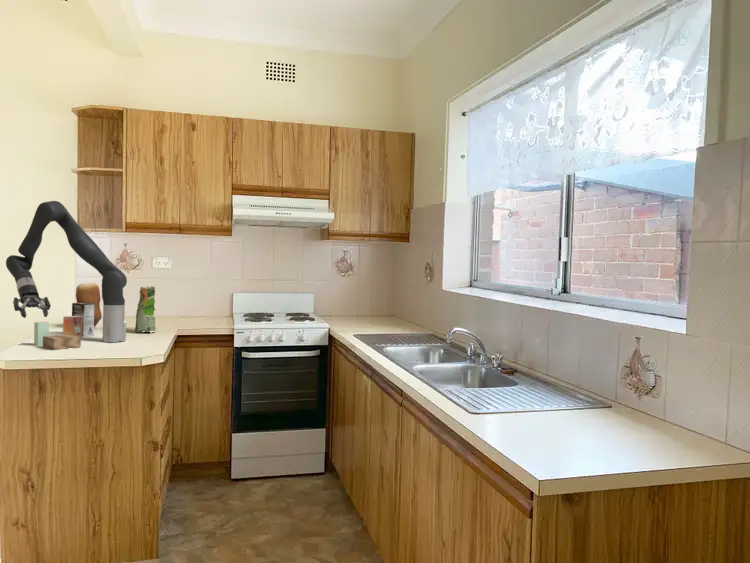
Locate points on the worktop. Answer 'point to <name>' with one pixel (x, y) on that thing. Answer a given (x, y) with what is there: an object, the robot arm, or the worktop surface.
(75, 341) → the riser
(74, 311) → the coffee box
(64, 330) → the small box
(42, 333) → the sage green pillar
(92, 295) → the butternut squash
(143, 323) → the pouch
